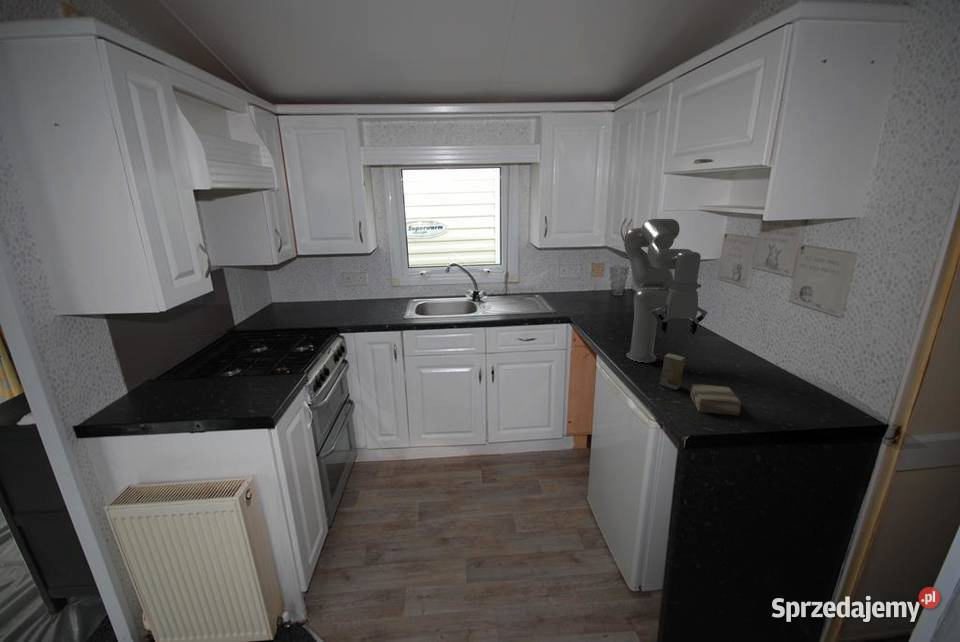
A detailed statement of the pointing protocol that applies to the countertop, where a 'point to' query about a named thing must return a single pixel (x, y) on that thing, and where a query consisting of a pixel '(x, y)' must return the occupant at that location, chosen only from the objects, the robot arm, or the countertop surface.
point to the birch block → (715, 399)
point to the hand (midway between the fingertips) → (678, 332)
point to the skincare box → (672, 371)
